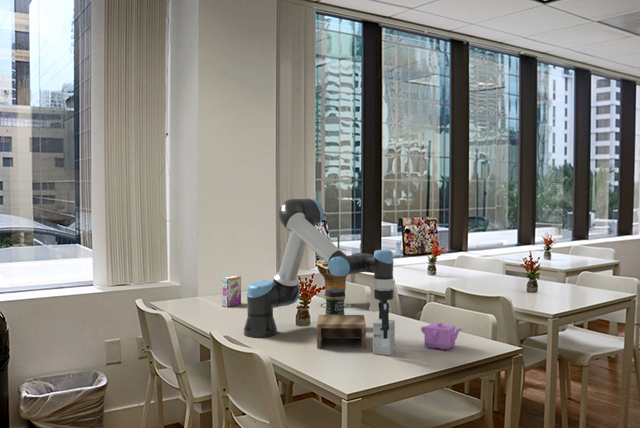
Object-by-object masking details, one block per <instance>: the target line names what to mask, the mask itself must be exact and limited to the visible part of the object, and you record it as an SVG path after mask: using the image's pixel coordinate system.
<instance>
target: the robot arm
mask: <svg viewBox="0 0 640 428" xmlns="http://www.w3.org/2000/svg"><path fill="white" fill-rule="evenodd" d="M277 213H278V214H277V215H278V219H279V221H280V224H281V225H282V226H283V227H284V228H285V229H286V230H287V231H288V232H290V234H289V237H288V240H287V243H286V247H285V251H284V254H283V257H282V261H281V265H280V268H279V271H278V273H276V274H274V277H273V280H272V281H271V280H257V281H254V282H251V283H249V284H248V286H247V289H246V291H247V292H246V296H247V297H246V300H247V303H246V305H247V306H246V307H247V310H246V311H247V317H246V321H245V323H244V328H243V335H244V336H246V337H248V338H249V337H250V338H267V337H271V336H275V335H277V334H278V327H277V324H276V320H275V318H274V309H276V308H281V307H284V306H285V307H286V306H287V307H288V306H291V305H293V304H295V303H296V302H297V301H298V300H299V298H300V296H301V289H300V288H301V287H300V284H299V280H298V279H297V277H298V274H299V271H300V267H301V264H302V261H303V257H304V254H305V250H306V247H307V246H308V247H309V248H310V249H311V250H312V251H313V252H314V253H315V254H317V255H318V256H319V257H320V258H321V259H322V260H323V261H324V263H328V268H329V270H330V273H331V274H332V275H334V276H345V275H347V276H350V275H355V274H356V275H357V274H359V273H360V274H361V273H368V274H369V273H370V274H371V273H372V274H373V277H374V279H373V288H374V290H373V291H374V292H373V293H374V295H373V297H374V299H375V300H378V301H379V302H378V311H379V312H378V319H382V328H380V330H382V347H389V320H390V317H389V314H390V309H389V308H390V304H389V302H388V301H391V300H393V299H394V289H393V288H394V284H395V280H394V255H393V252H392V250H390V249H377V250H374V252H373V254H370V253H362V252H354V253H352V254H351V255H349V254H348V255H347V254H345V252H343V251H342V250H341V249H340V248H339V247H338V246H337V245H335V244H334V243H333V242H332V241H331V240H329V238H328V237H327V236H326V235H324V234H323V233H322V232H321V231H319V230H318V228H316V226H317V225H319V224H320V223H321V222H322V221H323V220H324V216H325V215H324V214H325V212H324V208H323V205H322V204H321V202H320V201H319V200H318V199H315V198H310V197H307V198H288V199H287V200H285V201H284V202H282V203H281V204H280V206H279V208H278V212H277ZM384 326H387V327H384Z"/></svg>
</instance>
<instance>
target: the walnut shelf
mask: <svg viewBox="0 0 640 428" xmlns="http://www.w3.org/2000/svg"><path fill="white" fill-rule="evenodd" d="M366 332H367V324H366V318H365V314H345V315H325V314H318V317H317V322H316V349H322V343H323V339H360V345H361V349H363V350H366V349H367V344H366V343H367V342H366V341H367V333H366Z"/></svg>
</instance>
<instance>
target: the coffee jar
mask: <svg viewBox="0 0 640 428" xmlns="http://www.w3.org/2000/svg"><path fill="white" fill-rule="evenodd" d="M324 293H325V294H324V298H325V303H326V308H325V314H324V315H346V314H345V308H344V303H345V299H346V289H345V290H344V289H342V288H332V289H326V290H325V292H324Z"/></svg>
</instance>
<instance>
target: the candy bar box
mask: <svg viewBox="0 0 640 428" xmlns="http://www.w3.org/2000/svg"><path fill="white" fill-rule="evenodd" d="M238 304H239V305H241V304H242V276H241V275H240V276H239V275H233V276H226V277H221V306H222V305H223V306H231V307H233V306H232V305H235V306H238ZM223 306H222V307H223Z"/></svg>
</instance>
